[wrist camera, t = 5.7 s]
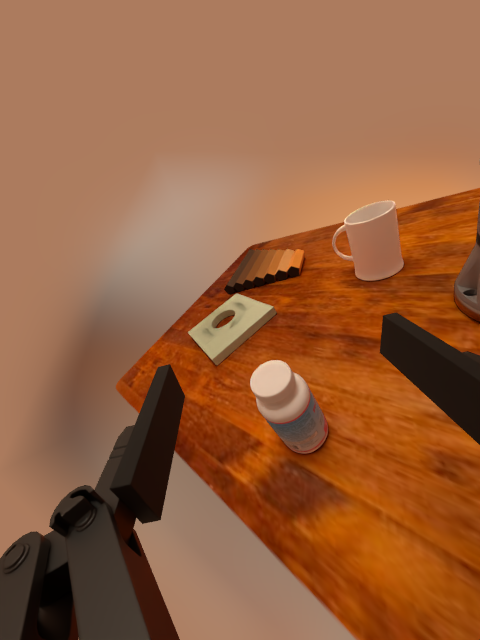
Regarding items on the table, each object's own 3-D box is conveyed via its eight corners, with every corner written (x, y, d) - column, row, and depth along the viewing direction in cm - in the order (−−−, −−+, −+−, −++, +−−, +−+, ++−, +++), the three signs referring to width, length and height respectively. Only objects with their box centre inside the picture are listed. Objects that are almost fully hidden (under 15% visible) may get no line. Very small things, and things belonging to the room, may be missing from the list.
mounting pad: (277, 313, 51) (273, 306, 50) (216, 365, 47) (211, 359, 46) (239, 298, 66) (236, 293, 65) (191, 337, 62) (187, 332, 61)
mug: (334, 282, 50) (318, 232, 44) (348, 260, 53) (336, 212, 47) (396, 280, 41) (388, 217, 35) (409, 254, 44) (403, 194, 38)
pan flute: (249, 258, 89) (227, 294, 73) (246, 250, 88) (222, 286, 71) (312, 236, 76) (301, 275, 59) (308, 226, 74) (297, 264, 57)
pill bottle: (340, 431, 26) (311, 374, 21) (301, 466, 26) (261, 417, 20) (306, 399, 32) (276, 346, 26) (273, 427, 31) (235, 379, 25)
